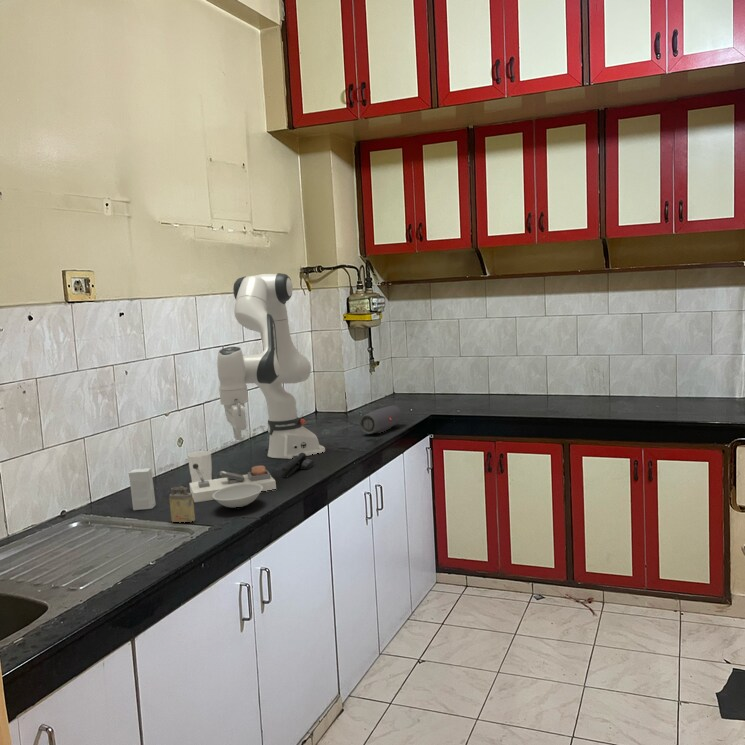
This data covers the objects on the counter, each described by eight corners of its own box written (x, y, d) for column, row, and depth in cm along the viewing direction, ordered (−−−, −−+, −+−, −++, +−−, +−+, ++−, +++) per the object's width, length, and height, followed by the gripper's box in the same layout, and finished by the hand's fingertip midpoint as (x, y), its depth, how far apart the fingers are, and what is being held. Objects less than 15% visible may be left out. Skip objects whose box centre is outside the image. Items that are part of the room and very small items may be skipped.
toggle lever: (205, 479, 241) (196, 462, 239) (206, 481, 239) (197, 463, 237) (200, 482, 240) (191, 464, 239) (201, 483, 238) (192, 465, 237)
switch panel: (267, 480, 254) (266, 466, 253) (276, 489, 240) (275, 476, 240) (190, 491, 245) (188, 478, 245) (194, 502, 232) (193, 488, 232)
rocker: (241, 478, 246) (242, 474, 246) (243, 481, 242) (244, 477, 242) (219, 473, 243) (220, 470, 243) (221, 476, 239) (222, 473, 239)
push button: (264, 471, 248) (263, 464, 248) (266, 474, 244) (266, 467, 244) (251, 473, 247) (250, 466, 246) (253, 476, 242) (252, 469, 242)
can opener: (298, 465, 272) (297, 450, 272) (315, 466, 270) (314, 451, 269) (274, 478, 256) (273, 462, 256) (292, 479, 254) (291, 463, 253)
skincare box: (155, 505, 232) (152, 467, 231) (152, 509, 228) (148, 471, 227) (136, 506, 232) (132, 469, 231) (132, 510, 228) (128, 472, 227)
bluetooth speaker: (377, 437, 311) (376, 414, 310) (359, 436, 316) (357, 413, 315) (404, 426, 330) (402, 404, 329) (386, 425, 335) (384, 404, 334)
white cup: (204, 477, 263) (201, 450, 262) (218, 480, 258) (215, 452, 257) (185, 483, 257) (182, 455, 256) (199, 486, 252) (197, 457, 251)
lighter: (197, 519, 215) (194, 485, 213) (191, 523, 211) (188, 489, 210) (175, 519, 216) (171, 485, 215) (168, 523, 213) (165, 489, 211)
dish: (232, 498, 234) (231, 482, 234) (273, 499, 230) (272, 483, 229) (203, 515, 218) (201, 499, 217) (246, 517, 213) (245, 500, 213)
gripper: (249, 400, 231) (253, 443, 233) (239, 392, 251) (242, 432, 252) (228, 403, 230) (232, 446, 231) (220, 394, 249) (224, 435, 251)
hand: (238, 439), depth 242 cm, fingers closed
